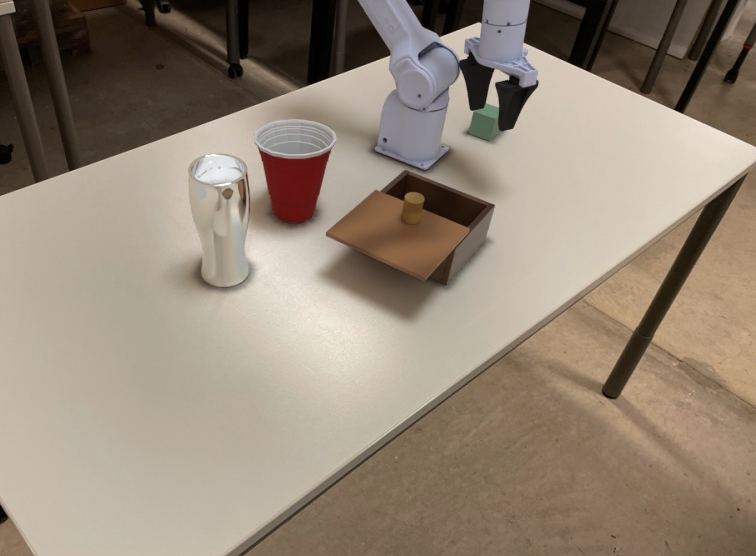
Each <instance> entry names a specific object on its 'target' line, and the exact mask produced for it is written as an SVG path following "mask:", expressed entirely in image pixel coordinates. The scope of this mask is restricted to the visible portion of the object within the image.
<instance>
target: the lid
mask: <svg viewBox="0 0 756 556" xmlns="http://www.w3.org/2000/svg"><path fill="white" fill-rule="evenodd" d="M380 191H381V190H378V189H374V190H373V192H371V193H369V195H368V196H367V197H365V198H364V199H363V200H362V201H361V202H359V203H358V204H357V205H356V206H354V207H353V208H352V209H351V210H350V211H349V212H348V213H346V214H345V215H344V216H343V217H342V218H341V219H340V220H338V221H337V222H336V223H335V224H333V226H331V227H330V228H329V229H328V230H327V231H326V232H325V237H327V238H329V239H331V240H334V241H335V242H338V243H340V244H343V245H345V246H347V247H349V248H351V249H352V250H353V249H354V250H356V251H358V252H360V253H362V254H364V255H367V256H369V257H371V258H373V259H375V260H377V261H379V262H382V263H383V264H386V265H388V266H390V267H392V268H395V269H397V270H399V271H400V272H403V273H406V274H407V275H410V276H412V277H414V278H416V279H418V280H421V281H423V282H426V281H427V279H428V278H430V277H429V276H430V275H431V274H432V272H433V271H434V270H435V269H436V268H437V267H438V266H439V265H440V264H441V263H442V261H443V260H444V259H445V258H446V257H447V256H448V255H449V254H450V253H451V252H452V251H453V249H454V248H455V247H456V246H457V245H458V244H459V243H460V242H461V241H462V240H463V238H464V237H465V236H466V235H467V234H468V233H469V231H470V228H467V227H465V226H462V225H460V224H458V223H455V222H453V221H450V220H448V219H446V218H443V217H441V216H438V215H436V214H434V213H431V212H429V211H426V210H424V209H423V204H424V196H423V195H421V194H420V193H416V192H410V193H407V194H406V195H405V198H404V201H402V200H400V199H397V198H395V197H393V196H390V195H388V194H385V193H383V192H380Z"/></svg>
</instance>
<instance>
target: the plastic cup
mask: <svg viewBox="0 0 756 556" xmlns="http://www.w3.org/2000/svg"><path fill="white" fill-rule="evenodd" d="M336 143H337V135H336V132H335V131H334V130H333V129H332V128H330V126H327V125H325V124H323V123H320V122H318V121H313V120H307V119H281V120H275V121H271V122H268V123H266V124H264V125H261V126H260V127H258V128H257V129H256V130H255V132H254V133H253V144H254V145H255V146H256V147H257V149H258V153H259V155H260V160H261V162H262V166H263V167H262V168H263V172H264V177H265V181H266V186H267V191H268V195H269V198H270V205H271V210H272V212H273V215H274V216H275V217H276V218H277V219H278V220H280V221H281V222H283V223H288V224H301V223H305V222H307V221H309V220H310V219H312V217H313V216H314V213H315V211H316V207H317V203H318V199H319V196H320V193H321V191H322V185H323V181H324V177H325V173H326V169H327V165H328V162H329V159H330V155H331V153H332V150H333V147H334V146H335V145H336Z"/></svg>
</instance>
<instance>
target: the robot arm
mask: <svg viewBox="0 0 756 556" xmlns="http://www.w3.org/2000/svg"><path fill="white" fill-rule="evenodd" d="M357 2H358V3H359V5H360V6H361V8H362V9H363V11H364V12H365V14H366V17H368V19H369V20H370V22H371V24H372V25H373V26H374V28H375V30H376V31H377V33H378V35H379V36H380V37H381V39H382V41H383V42H384V44H385V46H386V47H387V48H388V50H389V51H390V55H389V64H388V72H389V73H390V75H391V77H392V79H393V80H394V83H395V89H393V90H391V91H390V93H389V94H388V95H387V97H386V98H385V100H384V103H383V106H382V109H381V114H380V122H379V129H378V130H379V131H378V136H377V143H376V144H377V145H376V146H374V151H375V152H377V153H380V154H382V155H384V156H388V157H390V158H393V159H395V160H398V161H400V162H402V163H406V164H408V165H410V166H413V167H416V168H418V169H421V170H424V171H427V170H428V169H429V168H430V167H432V166H433V164H435V163H436V162H437V161H438V160H439V159H441V157H443V156H444V155H445V154H446V153H447V152H448V151H449V149H450V148H449V146H447V145H444V144H442V143H441V142H442V137H443V133H444V127H445V123H446V117H447V113H448V107H449V104H450V103H449V102H450V93H449V92H450V87H451V86H452V85H454V84H455V83H456V82H457V80H458V79H459V77H460V75H461V74H462V76H463V80H464V83H465V88H466V93H467V100H468V107H469V110H470V111H471V112H473V111H475V110H479V109H483V108H484V106H485V104H486V103H487V99H488V95H489V91H490V84H491V81H492V79H493V75H494V73H495V71H496V70H498V71H500V72H502V73H503V74H505V75H506V76H508V79H505V80H501V81H500V80H499V81H496V82H495V83H494V87H495V90H496V93H497V100H498V107H499V116H498V127H499V130H500V132H505V131H509V130H510V131H511V130H513V129H514V128H515V126H516V123H517V121H518V119H519V117H520V115H521V113H522V110H523V108H524V106H525V105H526V103H527V101H528V100H529V98H530V97H531V96H532V95H533V93H534V92H535V91H536V90H537V88H539V85H540V82H539V79H538V74H539V73H538V72H539V69H538V68H536V67H534V65H532V63H531V62H530V61H529V59H528V58H527V57H526V56H528V52H529V49H527V48H525V47H524V43H525V42H524V41H525V35H526V28H527V22H528V16H529V11H530V4H531V0H483V5H482V6H483V8H482V16H481V25H480V33H479V37H478V36H474V37H469V38H465V39H464V47H463V54H465V55H467V56H466V58H463V59H460V57H459V55H458V54H457V52H456V51H455V50H454V49H453V48H452V47H450V46H449V45H447V44H445V43H444V42H443V41H442V39H441V38H440V36H439V34H438V33H437V32H434V31H432V30H430V29H427V28H425V27H424V26H422V24H421V22H420V20H419V19H418V17H417V15H416V14H415V13H414V11H413V9H412V8H411V7H410V5H409V3H408V2H407V0H357Z"/></svg>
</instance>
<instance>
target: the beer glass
mask: <svg viewBox="0 0 756 556" xmlns="http://www.w3.org/2000/svg"><path fill="white" fill-rule="evenodd" d="M187 173H188V199H189V207H190V213H191V218H192V223H193V225H194V228H195V232H196V234H197V237H198V240H199V243H200V247H201V252H202V260H201V267H200V274H201V277H202V279H203V280H204V281H205V282H206V283H207V284H209V285H211V286H213V287H218V288H229V287H234V286H237V285H240V284H241V283H243V282H244V281H245V280H246V279H247V277H248V276H249V272H250V266H249V263H248V260H247V256H246V240H247V234H248V228H249V222H250V216H251V192H250V181H249V174H248V166H247V163H246V162H245V161H244V160H243V159H241V158H240V157H238V156H236V155H234V154H228V153H220V152H219V153H218V152H217V153H210V154H205V155H202V156H199V157H197V158H195V159H194V160H193V161H191V163H190V164H189V166H188V168H187Z"/></svg>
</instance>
